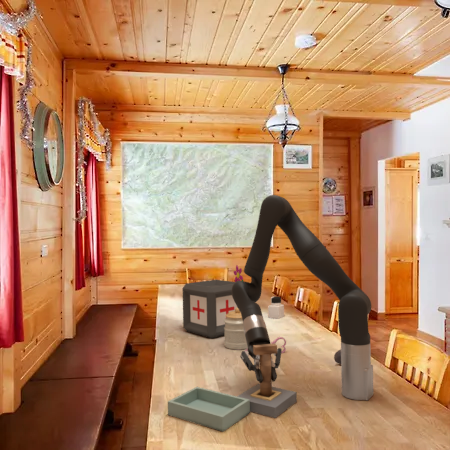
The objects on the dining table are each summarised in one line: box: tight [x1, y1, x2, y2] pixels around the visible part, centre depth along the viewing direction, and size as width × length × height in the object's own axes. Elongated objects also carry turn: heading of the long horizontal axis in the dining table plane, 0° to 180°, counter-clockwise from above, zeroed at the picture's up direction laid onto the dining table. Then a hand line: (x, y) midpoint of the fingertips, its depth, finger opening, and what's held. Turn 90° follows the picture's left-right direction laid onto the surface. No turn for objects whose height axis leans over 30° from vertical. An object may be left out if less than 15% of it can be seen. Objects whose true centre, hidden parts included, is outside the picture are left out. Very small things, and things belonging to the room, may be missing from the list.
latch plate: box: [236, 383, 298, 419], centre depth 139 cm, size 14×14×3 cm
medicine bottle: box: [267, 296, 285, 320], centre depth 264 cm, size 7×7×12 cm
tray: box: [167, 386, 251, 433], centre depth 133 cm, size 20×14×4 cm
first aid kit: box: [182, 279, 237, 339], centre depth 234 cm, size 25×25×25 cm
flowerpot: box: [233, 264, 244, 282], centre depth 276 cm, size 14×14×30 cm
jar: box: [223, 307, 248, 351], centre depth 205 cm, size 13×13×18 cm
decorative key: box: [243, 336, 287, 356], centre depth 193 cm, size 7×1×20 cm
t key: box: [253, 343, 278, 397], centre depth 139 cm, size 7×4×18 cm, turn 102°
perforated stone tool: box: [333, 348, 341, 365], centre depth 177 cm, size 15×5×7 cm, turn 102°
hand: (267, 380), depth 137 cm, fingers closed on t key, 3 cm apart
